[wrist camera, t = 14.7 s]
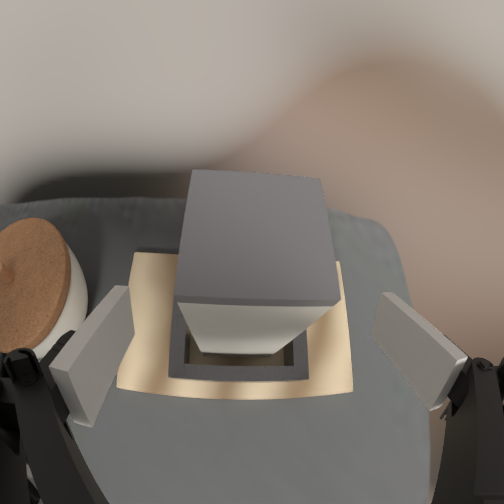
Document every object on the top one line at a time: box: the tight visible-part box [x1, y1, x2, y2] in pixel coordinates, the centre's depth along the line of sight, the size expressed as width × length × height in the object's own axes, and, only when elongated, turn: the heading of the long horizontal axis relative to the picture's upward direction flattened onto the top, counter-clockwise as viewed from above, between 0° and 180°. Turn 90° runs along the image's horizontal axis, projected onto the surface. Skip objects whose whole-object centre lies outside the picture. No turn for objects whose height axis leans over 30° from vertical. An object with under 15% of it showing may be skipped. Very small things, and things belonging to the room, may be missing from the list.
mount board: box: [117, 252, 353, 399], centre depth 25 cm, size 22×14×1 cm, turn 90°
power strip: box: [174, 169, 341, 357], centre depth 18 cm, size 6×6×16 cm
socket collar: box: [168, 297, 309, 383], centre depth 23 cm, size 11×11×4 cm
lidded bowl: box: [0, 218, 88, 359], centre depth 19 cm, size 13×13×11 cm
